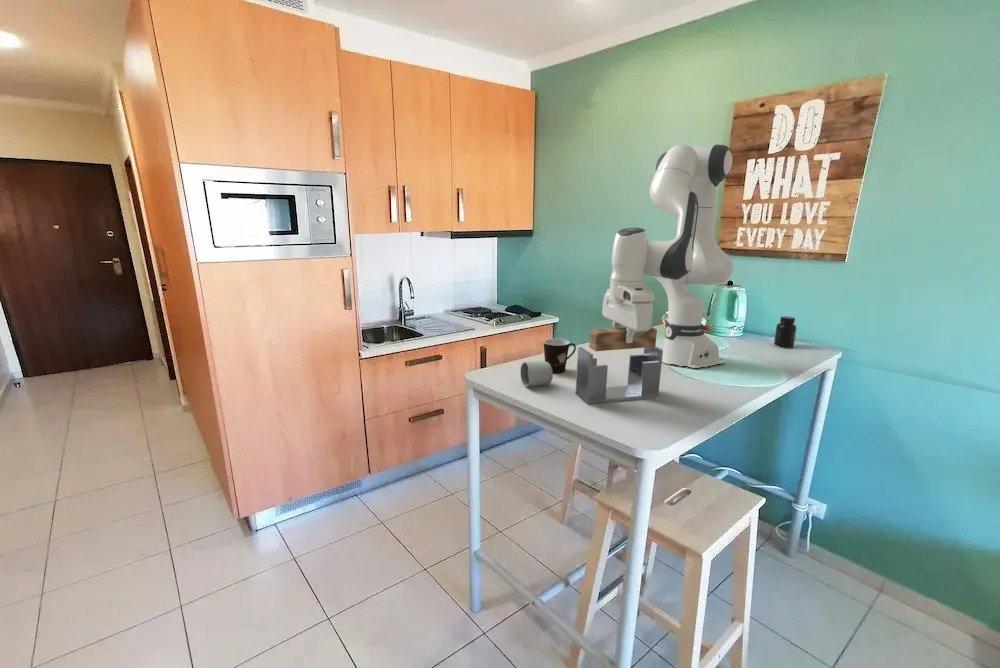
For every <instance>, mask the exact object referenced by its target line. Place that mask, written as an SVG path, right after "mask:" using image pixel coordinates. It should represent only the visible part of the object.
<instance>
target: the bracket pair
mask: <svg viewBox="0 0 1000 668" xmlns="http://www.w3.org/2000/svg"><path fill="white" fill-rule="evenodd" d="M662 355H663V350H662V348H660V347H658V346H656V345H655V347H647V348H643V354H634V355H633V354H632V355H631V354H630V355H629V364H628V375H627V385H619V386H617V385H616V386H608V387H607V382H608V381H607V380H608V367H609V366H608V365H606V364H601V365H597V364H598V358H596V357H594V354H593V353H591V352H590V351H588V350H587V349H586V348H583V347H582V346H580V347H577V363H576V365H577V366H576V381H575V383H576V384H575V393H574V394H575V395H576V396H577V397H579V399H581V400H582V402H584V403H585V404H587V405H593V404H594V405H596V404H603V403H604V404H605V403H614V402H615V403H616V402H624V401H625V402H626V401H635V400H644V399H645V400H647V399H655V398H656V397H657V398H659V396H660V394H659V392H660V382H661V374H662V373H661V371H662V364H663V362H662ZM657 398H656V399H657Z"/></svg>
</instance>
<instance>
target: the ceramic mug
mask: <svg viewBox="0 0 1000 668" xmlns="http://www.w3.org/2000/svg"><path fill="white" fill-rule="evenodd" d="M519 370H520V374H519V375H520V380H521V383H522V385H523V386H524V387H525V388H530V387H539V386H545V385H549V384H550V383H551V382H552V380H553V379H554V374H553V370H552V367H551V365H550V363H548V362H545V360H540V361H539V360H538V361H534V360H533V361H530V360H529V361H523V362H522V363H521V366H520V369H519Z"/></svg>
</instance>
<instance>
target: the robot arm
mask: <svg viewBox="0 0 1000 668" xmlns="http://www.w3.org/2000/svg"><path fill="white" fill-rule="evenodd" d="M732 166H733V153H732V151H731V149H730V147H728V145H724V144H714V145H694V146H690V145H687V144H677V145H674V146H672V147H671V148H670V149H669V150H668V151H666V152H663V153H662V154H661V155H660V156H659V158H658V159H657V161H656V164H655V173H654V176H653V178H652V180H651V183H650V187H649V197H650V200H651V202H652V203H653V204H654V205H655V206H656V208H658V209H660V210H661V211H663V212H664V213H665V212H666V213H669V214H671V215H673V216H676V217H677V228H676V236H675V238H674V239H671V240H652V239H649V238H647V232H646V231H647V230H646V229H644V228H641V227H629V228H627V227H626V228H622V229H620V230H619V231H616V234H615V236H614V239H613V240H614V241H613V244H612V245H613V246H612V252H611V267H612V269H611V270H612V272H611V274H610V280H609V281H610V282H609V286H608V288H607V289H606V293H605V294H604V296H603V301H602V310H601V313H602V317H603V318H606V319H608V320H609V321H612V323H611V324H612V328H622V327H621V326H623V327H624V328H626V327H627V329H626V330H627V334H626V336H624V342H626V343H632V341H633V336H634V334H635V332H636V331H637V332H645V331H649V329H650V328H651V327H652V324H653V313H654V307H653V303H652V302H654V301H655V297H656V296H655V295H656V294H655V292H653V291H652V289H650V288H649V287H648V286H647V284H645V282H646V280H645V279H646V276H648V277H653V278H654V279H655V280H657V281H658V282H659V283H660V285H661V286H662V287H663V289H664V290H665V294H666V296H667V302H668V303H667V305H668V307H667V308H668V311H667V320H666V321H665V327H664V341H663V345H662V348H661V349H662V350H663V355H662V363H664V364H667V365H670V364H675V365H681V366H688V367H694V368H700V367H706V366H711V365H716V364H722V363H725V364H726V360H725V359H724V358H722V357H720V356H719V355H720V353H719V347H718V344H717V343H715V342H714V341H713V340H711V338H710V337H708V336H707V335H706V334H705V331H706V332H711V330H712V326H711V325H708V324H705V325H704V324H703V323H702V321H703V313H704V312H703V311H704V302H703V300H702V299H701V298H700V297H699V296H698V295H696V294H694V293H692V292H691V291H690V290H689V289H688V286H687V285H688V284H691V285H702V286H703V285H706V286H713V285H721V284H725V283H726V282H727V281H728V280H729V279H730V278H731V276H732V274H733V271H734V264H733V261H732V259H731V258H732V257H730V255H728V254H727V253H726V252H724V251H723V250H722V248H720V245H719V243H718V242H717V240H716V235H715V218H716V217H715V216H716V207H717V195H718V194H717V187H718V186H719V184H720V183H722V182H723V181H724V180H725V179H726V178H727V177H728V175H729V174H730V172H731V168H732ZM722 365H723V364H722ZM681 366H680V367H681ZM688 367H687V368H688ZM711 367H712V366H711ZM706 368H707V367H706ZM700 369H701V368H700Z"/></svg>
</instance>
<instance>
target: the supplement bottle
mask: <svg viewBox="0 0 1000 668" xmlns="http://www.w3.org/2000/svg"><path fill="white" fill-rule="evenodd" d="M795 320H796V318H795V317H793V316H780V318H779V322H778V323H777V324H776V326H775V327H776V328H775V333H774V334H775V335H774V340H773V345H774V344H775V345H777V346H780V347H779V348H781V347H792V348H794V346H795V341H796V340H795V339H796V336H797V335H796V334H797V325H796V324H795V322H796V321H795ZM775 345H774V346H775ZM777 346H776V347H777Z"/></svg>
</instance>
